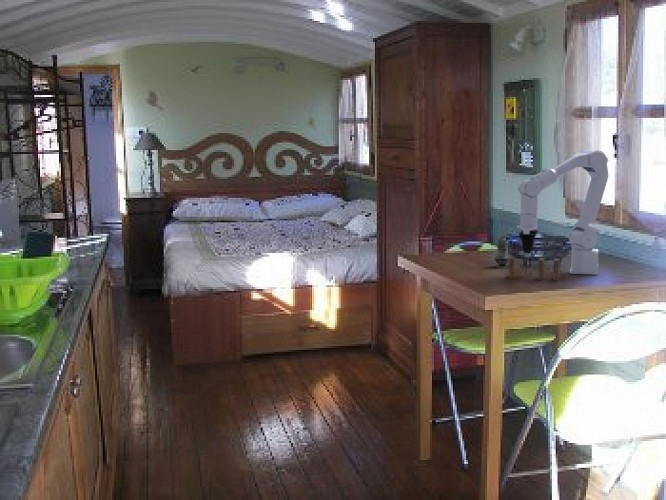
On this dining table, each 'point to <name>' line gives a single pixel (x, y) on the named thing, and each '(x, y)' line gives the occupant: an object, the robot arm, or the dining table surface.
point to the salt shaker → (502, 254)
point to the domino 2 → (527, 254)
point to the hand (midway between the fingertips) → (527, 251)
